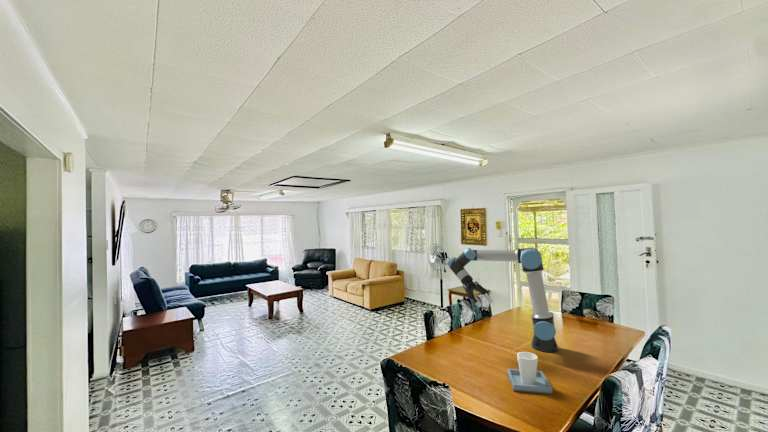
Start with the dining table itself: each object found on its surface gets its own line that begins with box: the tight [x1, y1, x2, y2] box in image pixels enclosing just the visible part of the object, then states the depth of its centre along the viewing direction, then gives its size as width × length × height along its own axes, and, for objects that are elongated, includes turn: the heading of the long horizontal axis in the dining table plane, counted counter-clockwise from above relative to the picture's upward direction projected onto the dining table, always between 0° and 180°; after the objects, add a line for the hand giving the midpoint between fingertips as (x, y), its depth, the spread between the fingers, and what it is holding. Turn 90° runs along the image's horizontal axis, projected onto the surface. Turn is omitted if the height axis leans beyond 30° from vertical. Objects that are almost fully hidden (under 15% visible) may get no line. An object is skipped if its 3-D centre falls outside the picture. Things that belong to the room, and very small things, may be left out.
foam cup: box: [516, 351, 539, 385], centre depth 155 cm, size 10×9×13 cm
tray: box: [506, 368, 554, 395], centre depth 155 cm, size 17×17×3 cm
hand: (486, 304), depth 195 cm, fingers open, 13 cm apart
